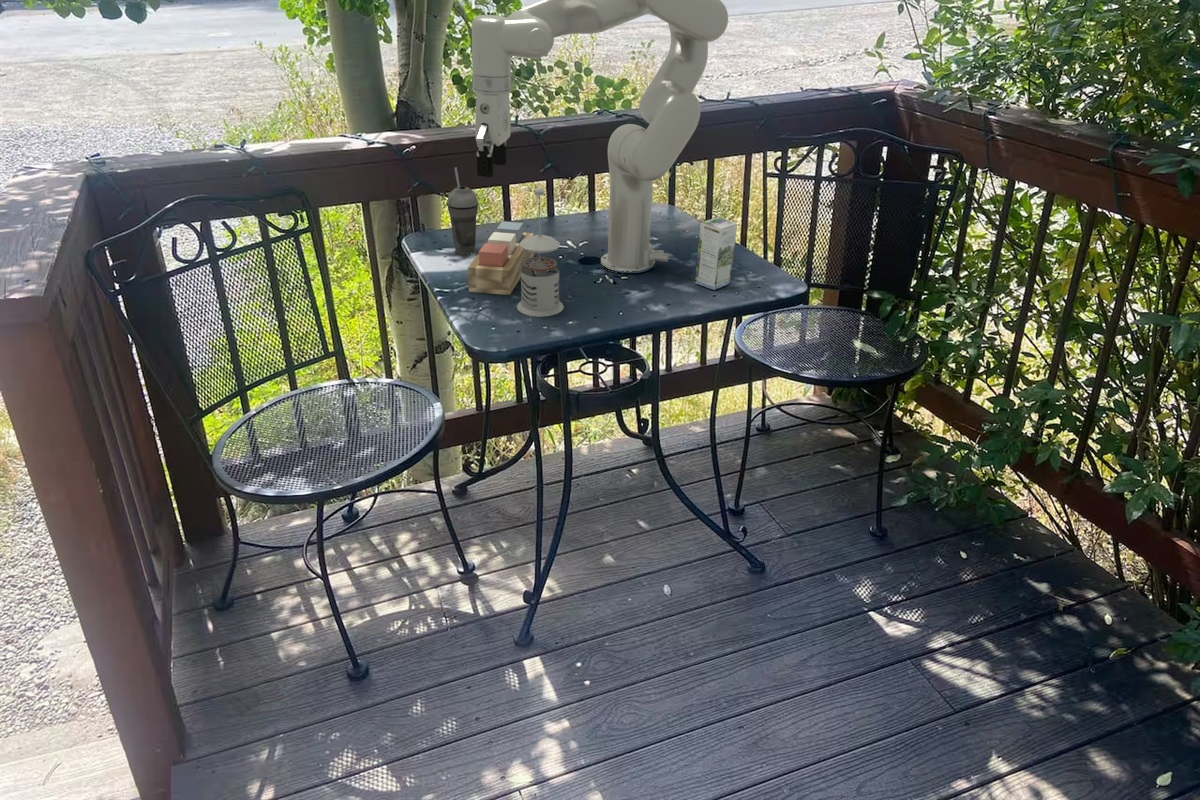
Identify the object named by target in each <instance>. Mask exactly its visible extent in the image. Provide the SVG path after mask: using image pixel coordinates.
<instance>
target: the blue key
mask: <svg viewBox="0 0 1200 800" xmlns="http://www.w3.org/2000/svg"><path fill="white" fill-rule="evenodd" d="M496 230H497V232H500V233H513V234H516V243H520V242H521V240H522V239H523V237H524V236H523V232H524V222H514V221H503V220H502V221H501V222H500V224H499V225H498V226H497V228H496Z"/></svg>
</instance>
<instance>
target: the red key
mask: <svg viewBox="0 0 1200 800" xmlns="http://www.w3.org/2000/svg"><path fill="white" fill-rule="evenodd" d="M486 243H487V242H486ZM486 243H484V244H483V246H482V247H481V248H480V249H479V250H478V253H479V265H481V266H493V267H504V266H505V264H506V263H507V261H508V245H498V244H486Z"/></svg>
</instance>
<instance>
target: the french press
mask: <svg viewBox="0 0 1200 800" xmlns="http://www.w3.org/2000/svg"><path fill="white" fill-rule="evenodd" d="M534 195H535V196H538V234H534V235H533V236H530V237H528V238H526V239H524V240H522V241H521V242H520V243H519V244H520V246H521V247H522V248H523V249H524V250H525V260H524V261H523V262H522V264H523V267H522V269H521V278H520V282H521V283H520V287H521V289H520V290H521V291H520V292H521V293H520V294H521V296H520V297H521V299H520V301H519V302H518V304H517V305H516V309H517V311H519V312H520V313H521V314H524V315H527V316H530V317H538V318H539V317H550V316H554V315H558V314H559V313H561V312H562V311H564V310H563V309H564V308H565V306H564V304H563V303H562V301H561V300H560V283H559V282H560V269H559V267H558V266H557V265H558V264H559V263H558V261H557V260H555V259H554V258H552V257H549V256H542V255H541V254H545V253H551V252H554V251H557V250H558V249H559V248H560V246H561V243H560V241H558V240H556V239H555V238H554V237H552V236H550V235H545V234H541V196H544V195H545V191H544V189H543V188H540V187H538V188H536V189H535V190H534ZM526 251H529V252H532V257H531V258H527V259H526ZM535 253H537V254H538V256H535ZM533 271H534V275H535V276H533ZM549 271H555V272H556V273H555V272H549ZM533 288H535V289H533Z"/></svg>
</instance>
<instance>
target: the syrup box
mask: <svg viewBox="0 0 1200 800" xmlns="http://www.w3.org/2000/svg"><path fill="white" fill-rule="evenodd" d="M699 227H700V228H699V235H698V236H699V237H698V247H697V254H696V255H697V256H696V265H695V266H696V267H695V275H694V276H695V277H694V281H695V280H697V281H699V282H701V283H704V284H706V285H710V286H713V287H716V286H718V285H719V284H722V283H724V282H726V281H728V280H730V281H731V278H732V268H733V263H734V253H735V246H736V236H737V228H738V224H737V223H736V222H734V221H732V220H729V219H727V218H723V217H720V216H719V217H718V216H717V217H716V216H715V217H714V218H711V219H707V220H705V221H702V222H700V226H699Z"/></svg>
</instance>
